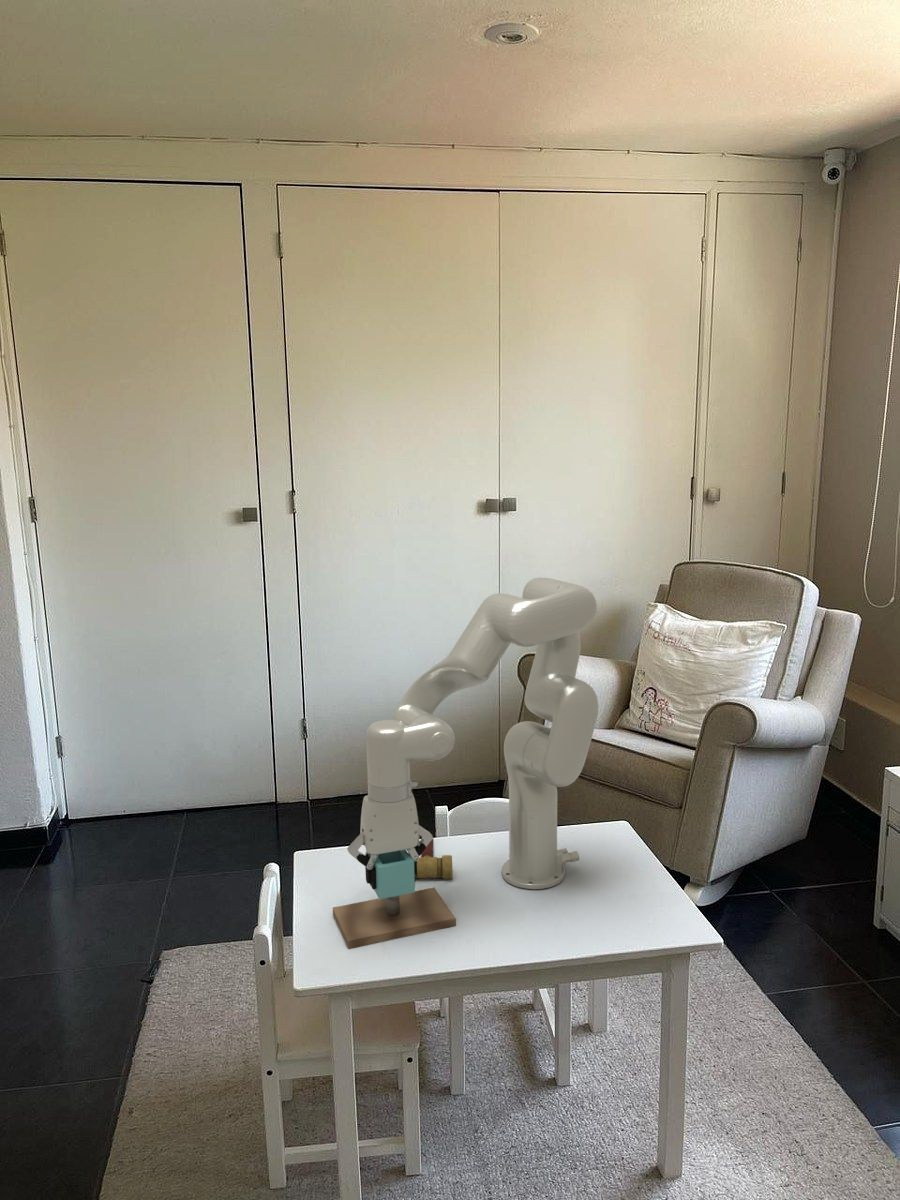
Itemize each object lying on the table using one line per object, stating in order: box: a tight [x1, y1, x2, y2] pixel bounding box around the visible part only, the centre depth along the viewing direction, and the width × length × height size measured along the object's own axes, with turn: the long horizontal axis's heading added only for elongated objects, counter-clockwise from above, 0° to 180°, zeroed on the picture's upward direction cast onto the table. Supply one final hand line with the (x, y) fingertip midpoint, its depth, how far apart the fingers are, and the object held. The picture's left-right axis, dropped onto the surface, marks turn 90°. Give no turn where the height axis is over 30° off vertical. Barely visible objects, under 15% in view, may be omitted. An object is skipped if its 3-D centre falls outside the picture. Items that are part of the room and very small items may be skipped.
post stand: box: [332, 887, 457, 949], centre depth 170 cm, size 20×12×8 cm, turn 110°
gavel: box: [415, 830, 453, 880], centre depth 194 cm, size 21×5×10 cm
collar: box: [373, 849, 416, 899], centre depth 168 cm, size 7×7×6 cm
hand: (391, 881), depth 169 cm, fingers closed on collar, 6 cm apart
